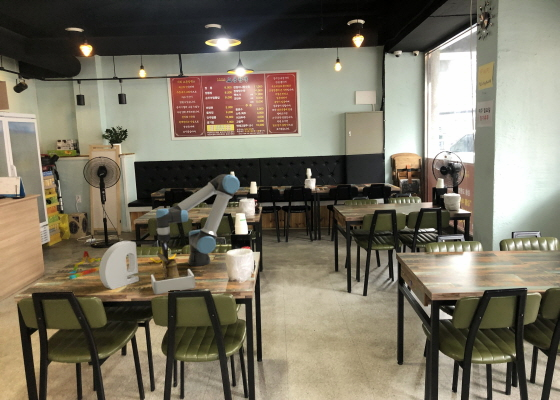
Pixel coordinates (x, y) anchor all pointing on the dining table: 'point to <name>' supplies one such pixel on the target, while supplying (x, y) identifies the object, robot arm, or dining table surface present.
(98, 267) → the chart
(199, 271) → the dining table surface
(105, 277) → the bracket
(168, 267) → the wooden mug
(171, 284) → the box
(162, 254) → the banana peel
